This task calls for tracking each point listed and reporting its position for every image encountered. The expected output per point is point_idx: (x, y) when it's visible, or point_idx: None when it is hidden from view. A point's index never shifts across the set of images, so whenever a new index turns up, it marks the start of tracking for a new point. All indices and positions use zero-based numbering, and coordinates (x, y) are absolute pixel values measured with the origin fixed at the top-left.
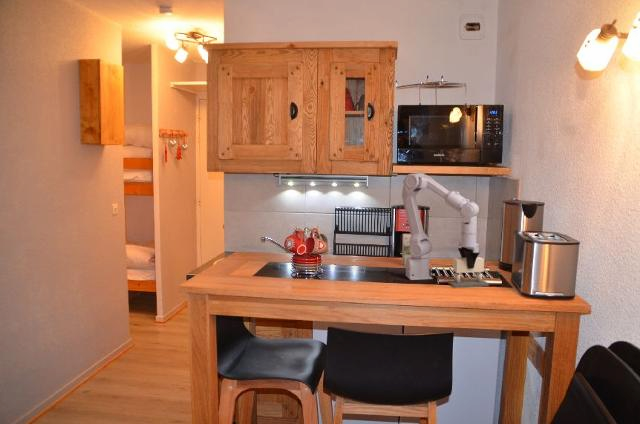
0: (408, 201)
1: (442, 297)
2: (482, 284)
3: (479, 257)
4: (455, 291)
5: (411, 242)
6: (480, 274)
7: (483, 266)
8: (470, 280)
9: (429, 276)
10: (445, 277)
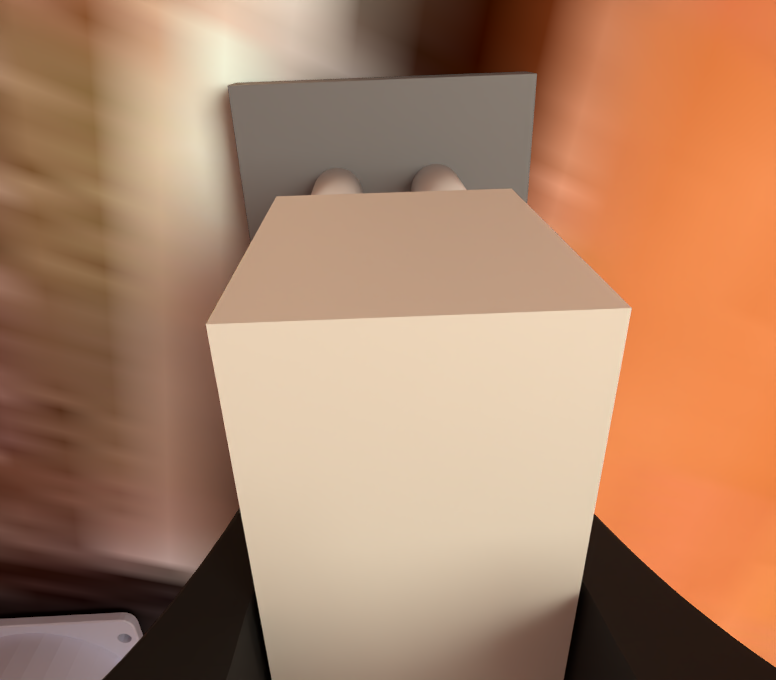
0: None
1: None
2: (526, 188)
3: (277, 357)
4: (621, 530)
5: None
6: None
7: (541, 232)
8: None
9: (63, 633)
10: (25, 479)
